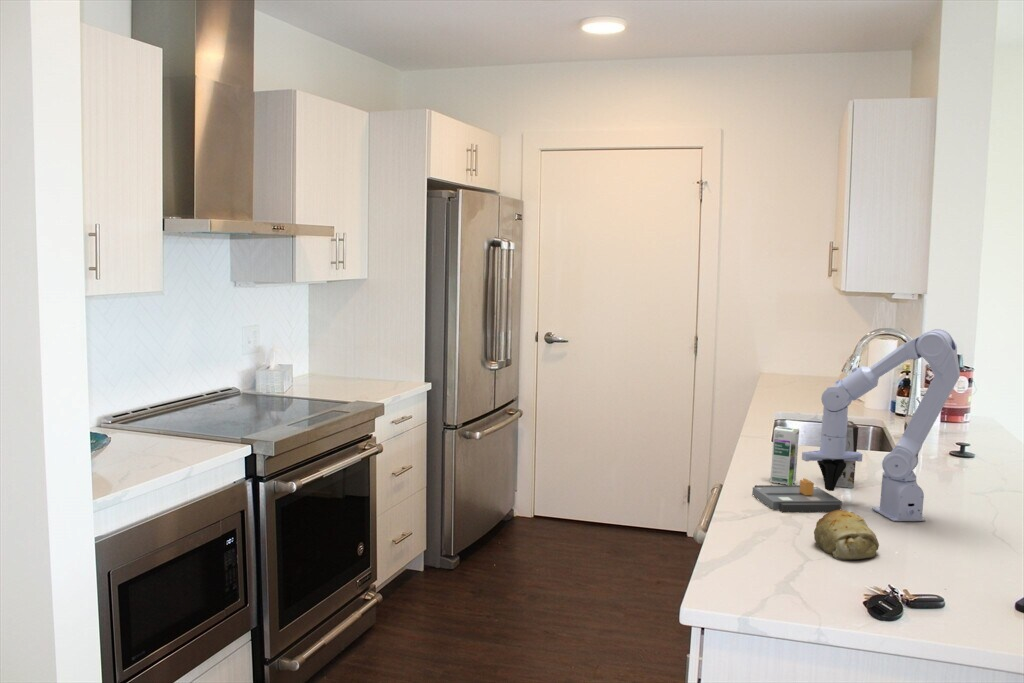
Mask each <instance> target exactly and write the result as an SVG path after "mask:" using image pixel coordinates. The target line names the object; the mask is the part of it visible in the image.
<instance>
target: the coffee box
mask: <svg viewBox="0 0 1024 683" xmlns="http://www.w3.org/2000/svg"><path fill="white" fill-rule="evenodd" d="M859 429H860V427H859V426H857V424H855V423H854V422H853V421H850V420H848V422H847V435H846V448H845V451H848V452H858V451H857V449H858V439H859ZM856 462H857V461H844V463H846V468H845V469H844V471H843V472H842V473H841V475H840V477H839V479H838V481H837V484H836V486H835V488H836V487H837V488H838V487H839V488H846V487H848V489H854V486H855V475H856V464H857V463H856Z"/></svg>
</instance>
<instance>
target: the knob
mask: <svg viewBox="0 0 1024 683" xmlns="http://www.w3.org/2000/svg"><path fill="white" fill-rule="evenodd" d="M814 484H815V483H814V481H813V482H812V481H811V480H809V479H807V478H806V477H803V478H802V479H799V485H800V489H799V492H801V493H802V494H804V495H813V487H815V485H814Z"/></svg>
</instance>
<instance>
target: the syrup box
mask: <svg viewBox="0 0 1024 683" xmlns="http://www.w3.org/2000/svg"><path fill="white" fill-rule="evenodd" d="M799 435H800V428H798V427H797V428H795V427H789V426H788V427H787V426H781V425H780V426H779V425H778V426H775V427H774V429H773V437H772V454H771V455H772V456H771V468H770V469H771V472H770V478H769V479H770V483H771V482H774V483H773V484H778V483H780V484H779V485H784V484H787V485H794V484H795V482H796V481H797V466H798V455H799V454H798V452H799V437H800V436H799ZM793 483H794V484H793Z"/></svg>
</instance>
